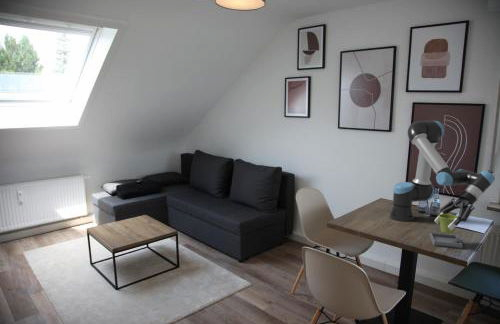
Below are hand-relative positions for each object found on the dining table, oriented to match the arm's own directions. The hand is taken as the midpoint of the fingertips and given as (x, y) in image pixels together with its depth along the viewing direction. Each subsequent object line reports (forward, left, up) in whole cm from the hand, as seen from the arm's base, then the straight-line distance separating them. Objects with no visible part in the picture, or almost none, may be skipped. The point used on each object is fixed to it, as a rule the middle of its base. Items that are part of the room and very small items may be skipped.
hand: (442, 225), depth 185 cm
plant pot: (+3, +2, -4) cm, 5 cm away
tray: (+2, +2, -10) cm, 11 cm away
